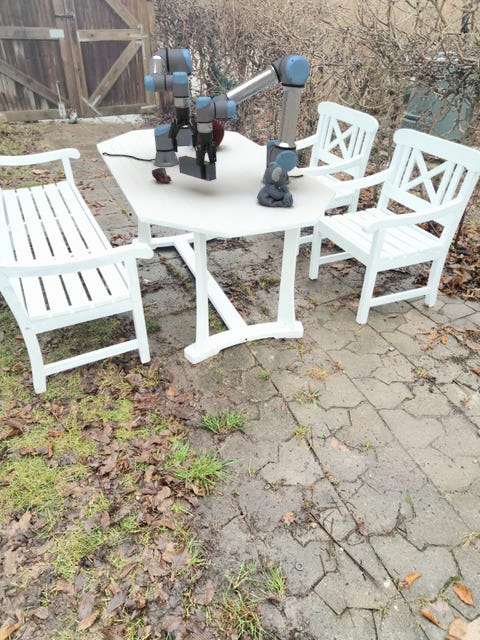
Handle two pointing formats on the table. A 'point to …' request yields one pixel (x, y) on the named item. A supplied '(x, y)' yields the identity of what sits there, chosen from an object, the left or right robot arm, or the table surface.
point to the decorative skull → (216, 133)
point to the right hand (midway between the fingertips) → (207, 177)
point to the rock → (161, 175)
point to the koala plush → (275, 188)
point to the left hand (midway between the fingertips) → (185, 149)
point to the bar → (196, 168)
